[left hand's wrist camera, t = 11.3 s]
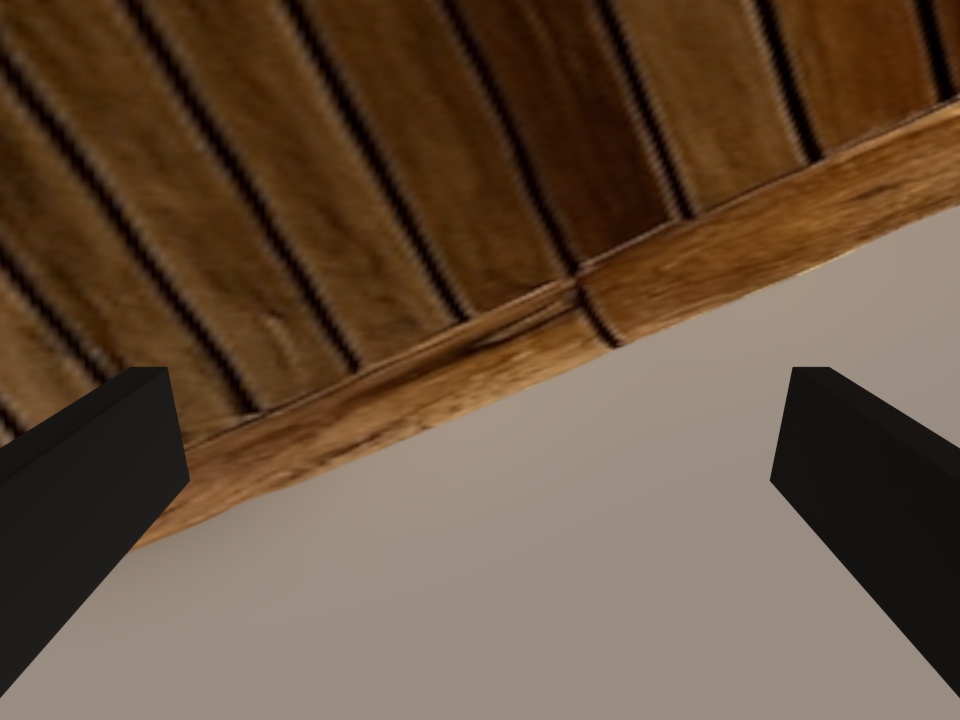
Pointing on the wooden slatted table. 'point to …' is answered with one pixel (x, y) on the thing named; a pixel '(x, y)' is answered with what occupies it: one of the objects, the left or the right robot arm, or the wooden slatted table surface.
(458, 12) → the wooden slatted table surface
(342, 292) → the wooden slatted table surface
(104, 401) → the left robot arm
